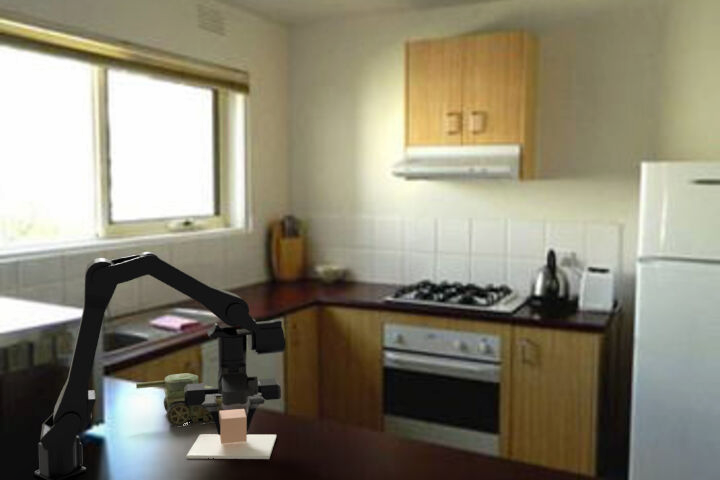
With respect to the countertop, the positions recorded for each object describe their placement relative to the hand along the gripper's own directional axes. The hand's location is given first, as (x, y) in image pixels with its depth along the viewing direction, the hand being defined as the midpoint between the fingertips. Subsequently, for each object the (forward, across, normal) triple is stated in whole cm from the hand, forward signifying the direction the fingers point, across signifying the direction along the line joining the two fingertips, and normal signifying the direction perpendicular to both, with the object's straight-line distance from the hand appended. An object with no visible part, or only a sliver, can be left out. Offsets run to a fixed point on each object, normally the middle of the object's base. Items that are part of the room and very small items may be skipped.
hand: (232, 433), depth 136 cm
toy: (+3, -10, +20) cm, 22 cm away
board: (+3, 0, 0) cm, 3 cm away
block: (+1, 0, 0) cm, 1 cm away
